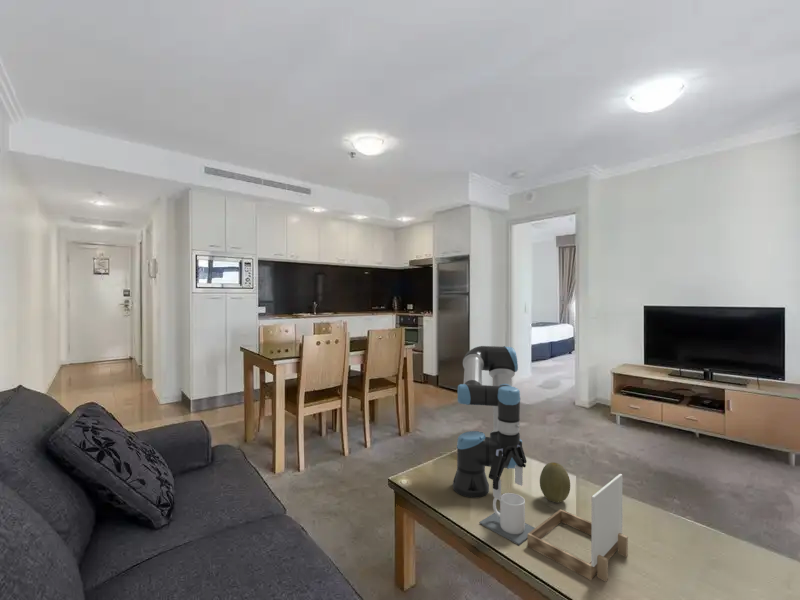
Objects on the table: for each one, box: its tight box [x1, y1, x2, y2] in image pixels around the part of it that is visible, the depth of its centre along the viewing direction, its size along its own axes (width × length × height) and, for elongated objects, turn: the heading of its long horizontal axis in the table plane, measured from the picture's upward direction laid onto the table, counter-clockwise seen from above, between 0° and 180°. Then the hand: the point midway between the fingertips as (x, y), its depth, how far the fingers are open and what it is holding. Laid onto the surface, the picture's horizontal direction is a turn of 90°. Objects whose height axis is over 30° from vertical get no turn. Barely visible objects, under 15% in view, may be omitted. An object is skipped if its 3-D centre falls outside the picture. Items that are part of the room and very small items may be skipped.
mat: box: [478, 509, 536, 546], centre depth 135 cm, size 16×12×1 cm
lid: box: [590, 473, 629, 582], centre depth 116 cm, size 3×22×24 cm, turn 131°
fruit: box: [539, 461, 571, 503], centre depth 153 cm, size 11×11×15 cm
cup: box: [492, 492, 526, 534], centre depth 135 cm, size 8×12×10 cm
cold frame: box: [526, 509, 618, 581], centre depth 124 cm, size 20×23×4 cm
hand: (508, 490), depth 135 cm, fingers open, 13 cm apart
